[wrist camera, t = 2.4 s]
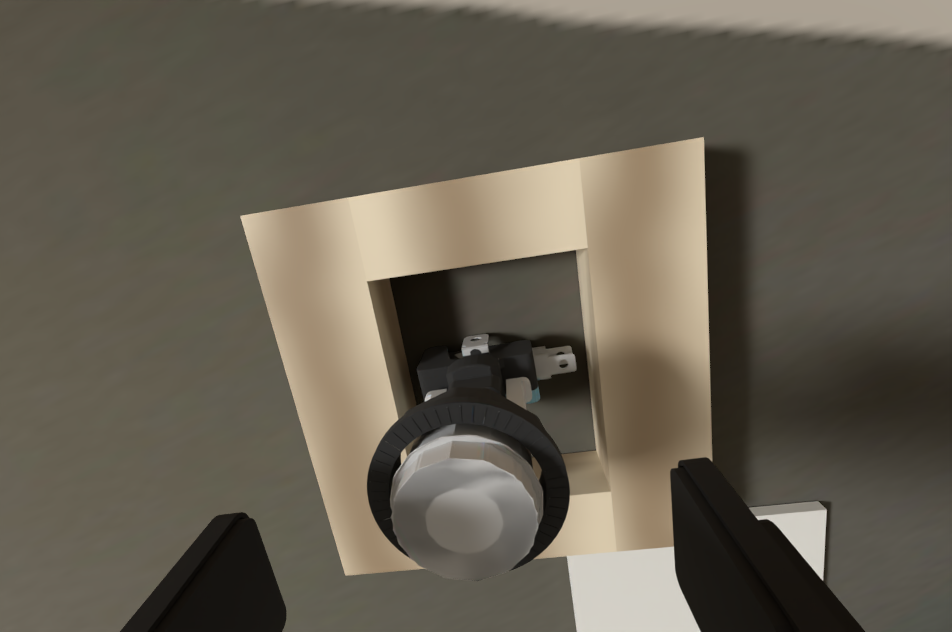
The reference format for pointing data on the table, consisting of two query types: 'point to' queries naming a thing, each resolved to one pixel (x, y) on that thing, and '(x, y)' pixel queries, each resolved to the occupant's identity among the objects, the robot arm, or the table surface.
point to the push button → (473, 463)
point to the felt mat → (669, 577)
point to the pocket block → (492, 240)
